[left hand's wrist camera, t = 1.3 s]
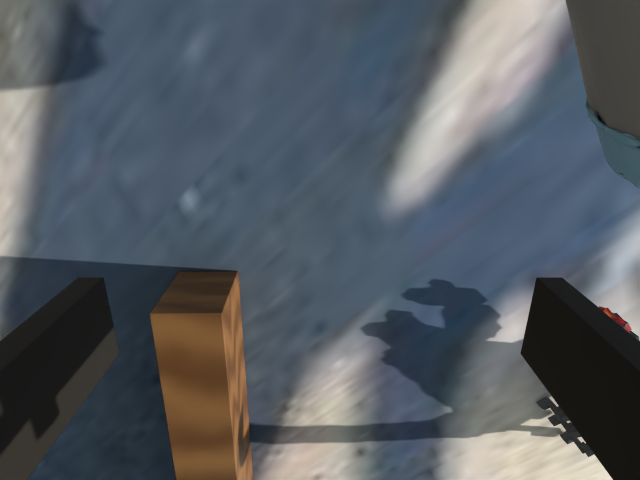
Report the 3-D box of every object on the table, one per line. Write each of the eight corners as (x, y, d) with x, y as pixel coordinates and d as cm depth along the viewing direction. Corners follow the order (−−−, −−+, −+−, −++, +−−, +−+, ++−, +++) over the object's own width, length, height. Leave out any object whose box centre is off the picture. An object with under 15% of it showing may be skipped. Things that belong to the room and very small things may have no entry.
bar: (179, 271, 41) (149, 313, 33) (238, 270, 41) (222, 313, 33) (209, 512, 53) (192, 585, 45) (255, 511, 53) (246, 583, 45)
